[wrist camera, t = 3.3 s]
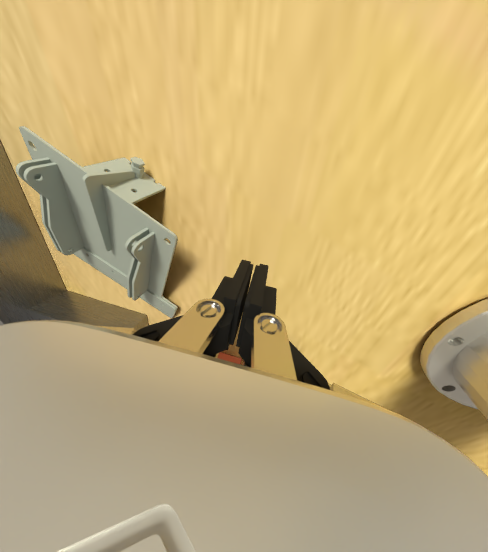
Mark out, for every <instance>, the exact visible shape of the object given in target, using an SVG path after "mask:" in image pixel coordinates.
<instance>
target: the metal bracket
mask: <svg viewBox="0 0 488 552" xmlns="http://www.w3.org/2000/svg"><path fill="white" fill-rule="evenodd" d="M19 129H20V132H21V134H22V137H23V139H24V141H25V144H26V146H27V148H28V151H29V153H30V155H31V157H32V160H28V161H23V162H20V163H19V164H18V165H17V166H16V173H17V174H18V175H19V177H21V178H22V179H23V180H24V181H25V182H26V183H28V184H29V185H30V186H31V187H32V188H33V189H35V190H36V191H37V192H38V193H39V194H40V201H41V211H42V221H43V224H44V226H45V228H46V230H47V232H48V233H49V235H50V237H51V239H52V241H53V243H54V245H55V247H56V249H57V250H58V251H60V252H62V253H63V254H64V255H71V254H74V255H76V256H77V257H79V258H80V259H82V260H83V261H85V262H86V263H88V264H90V265H91V266H93V267H94V268H96V269H97V270H99V271H100V272H102V273H103V274H105V275H106V276H108V277H109V278H111V279H112V280H114V281H115V282H117V283H118V284H120V285H121V286H123V287H124V288H126V289H127V290H128V297H132V299H133V300H137V299H138V298H139V297H140V298H141V299H143V300H144V301H146V302H147V303H149V304H150V305H152V306H153V307H155V308H156V309H158V310H159V311H161V312H162V313H164V314H165V315H167V316H169V317H170V318H173V317H174V315H175V313H176V311H177V309H178V307H177V306H176V305H175V304H173V303H172V302H170V301H169V300H167V299H166V298H164V297H163V292H164V288H165V284H166V281H167V277H168V273H169V270H170V266H171V262H172V259H173V255H174V251H175V248H176V244H177V240H178V239H177V236H176V235H175V234H174V233H173V232H172V231H170V230H169V229H167V228H166V227H165V226H163V225H162V224H160V223H159V222H158V221H156V220H155V219H153V218H152V217H151V216H149V215H148V214H146V213H145V212H144V211H142V210H141V209H139V208H138V207H137V206H135V205H134V204H135V203H137V202H139V201H141V200H144V199H146V198H148V197H150V196H152V195H155V194H157V193H159V192H161V191H163V190H165V187H164V186H162V185H161V184H160V183H158V184H156V183H154V182H155V180H154V179H153V178H152V177H150V176H149V175H148V174H146V173H145V172H144V167H143V166H144V162H143V160H142V159H139V158H137V157H133V158H131V161H132V163H131V162H130V161H129V160H127V159H126V158H120V159H116V160H111V161H107V162H102V163H98V164H93V165H89V166H84V167H81V166H79V165H78V164H77V163H75V162H74V161H72V160H71V159H70V158H68V157H67V156H65V155H64V154H63V153H61V152H60V151H59V150H57V149H56V148H54V147H53V146H52V145H50V144H49V143H47V142H46V141H45V140H43V139H42V138H40V137H39V136H38V135H36V134H35V133H33V132H32V131H31V130H29V129H28V128H26V127H24V126H21V127H19ZM32 143H33V144H34V146H35V147H36V148H35V147H34V146H33V144H32ZM106 171H107V172H106ZM133 191H136V192H133ZM166 238H167V239H169V240H170V242H171V244H170V243H168V242H167V240H166Z"/></svg>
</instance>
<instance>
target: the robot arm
mask: <svg viewBox="0 0 488 552" xmlns="http://www.w3.org/2000/svg"><path fill="white" fill-rule="evenodd" d="M250 263H251V262H250V261H246V260H242V261H241V263H240V265H239V267H238V269H237V271H236V273H235V275H234V277H233V278H230V277H226V276H225V277H224V278H223V280H222V282H221V283H220V285H219V287H218V289H217V290H216V292H215V294H214V296H213V297H212V299H202V300H200V301H198V302H197V303H195V304H194V305H193V306H192V307H191V308H190V309H189V310H188V311H187V312H186V313H185V314H184V315H183V316H179V317H176V318H173V319H169V320H166V321H163V322H159V323H156V324H153V325H149V326H146V327H144V328H141V329H139V330H138V331H135V329H134V328H124V327H108V326H94V325H89V324H84V323H78V322H71V321H60V320H33V321H22V322H14V323H8V324H4V325H0V552H488V476H487V475H486V474H485V473H484V472H483V471H482V470H481V469H480V468H479V467H478V466H477V465H476V464H475V463H474V462H473V461H472V460H470V459H469V458H468V457H467V456H466V455H464V454H463V453H462V452H461V451H459V450H458V449H457V448H455V447H454V446H453V445H451V444H450V443H448V442H447V441H446V440H444V439H443V438H441V437H439V436H438V435H436V434H434V433H433V432H431V431H430V430H428V429H426V428H425V427H423V426H421V425H419V424H418V423H416V422H414V421H412V420H410V419H408V418H406V417H404V416H402V415H400V414H398V413H395V412H393V411H390V410H388V409H385V408H384V407H382V406H380V405H378V404H376V403H374V402H372V401H370V400H368V399H365V398H363V397H361V396H359V395H357V394H355V393H353V392H351V391H349V390H347V389H345V388H343V387H341V386H339V385H337V384H335V383H333V384H332V385H331V384H329V383H328V382H327V380H326V379H325V378H324V377H323V375H322V374H321V373H320V372H319V371H318V370H317V369H316V368H315V367H314V366H313V365H312V364H311V363H310V362H309V361H308V360H307V359H306V358H305V357H304V356H303V355H302V354H301V353H300V352H299V351H298V349H297V348H296V347H295V346H294V345H293V344H292V343H291V342H290V341H289V340H288V335H287V331H286V326H285V324H284V322H283V321H282V320H281V319H280V318H279V317H278V316H276V315H275V310H276V291H277V289H276V288H272V287H268V286H265V285H266V279H267V272H268V265H263V264H260V266H257V265H256V267H255V271H254V274H253V277H252V281H251V284H250V279H251V274H252V270H253V264H250ZM249 284H250V287H249ZM248 289H249V291H248ZM242 313H243V315H242ZM241 316H242V320H241ZM240 320H241V325H240V330H239V334H238V339H237V344H236V346H238V347H240V348H239V354H240V356H241V357H242V359H243V360H244V362H243V365H240V364H237V363H233V362H229V361H226V360H222V359H219V358H218V355H219V353H220V352H222V351H224V350H228V347H229V344H231V345H233V344H234V340H235V337H236V334H237V330H238V327H239V323H240ZM420 363H421V367H422V370H423V372H424V373H425V375H426V376H427V378H428V379H429V381H430V382H431V384H432V385H433V386H434V387H435V388H436V390H437V391H439V392H440V393H442V394H443V395H445V396H446V397H448V398H449V399H451V400H454V401H456V402H458V403H460V404H463V405H465V406H469V407H472V408H475V409H479V411H480V412H481V413H482V414H483V415H484V417H485V418H486V419H487V420H488V299H485V300H482V301H480V302H478V303H476V304H474V305H472V306H470V307H468V308H465V309H463V310H461V311H460V312H458V313H457V314H455V315H453V316H452V317H450V318H449V319H447V320H446V321H444V322H443V323H442V324H441V325H440V326H439V327H438V328H437V329H435V330H434V331H433V332H432V334H431V335H430V336H429V338H428V339H427V340H426V342H425V343H424V346H423V348H422V351H421V356H420Z"/></svg>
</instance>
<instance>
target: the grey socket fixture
mask: <svg viewBox="0 0 488 552" xmlns="http://www.w3.org/2000/svg"><path fill="white" fill-rule="evenodd" d="M33 320H60V321H71V322H78V323H84V324H89V325H94V326H108V327H124V328H134V329H135V331H138V330H139V329H141V328H144V327H146V326H149V325H148V319H147V315H144V314H141V313H138V312H135V311H131V310H128V309H125V308H122V307H119V306H115V305H112V304H109V303H106V302H102V301H99V300H96V299H93V298H90V297H86V296H83V295H80V294H77V293H73V292H70V291H67V290H66V288H65V286H64V284H63V281H62V279H61V277H60V275H59V272H58V270H57V268H56V266H55V263H54V261H53V259H52V257H51V254H50V252H49V250H48V248H47V245H46V243H45V241H44V239H43V236H42V234H41V232H40V230H39V227H38V225H37V223H36V220H35V218H34V216H33V214H32V211H31V209H30V207H29V205H28V202H27V200H26V198H25V196H24V193H23V191H22V189H21V187H20V184H19V182H18V180H17V178H16V175H15V173H14V171H13V169H12V166H11V164H10V162H9V160H8V157H7V155H6V153H5V151H4V148H3V146H2V144H1V142H0V325H4V324H8V323H14V322H22V321H33Z"/></svg>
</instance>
